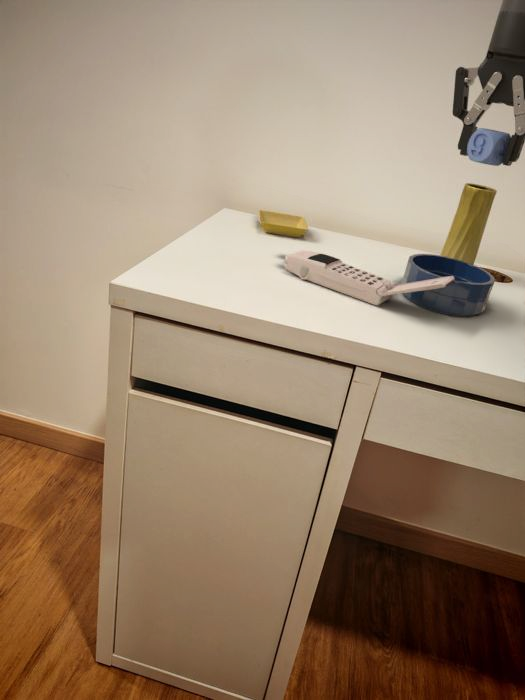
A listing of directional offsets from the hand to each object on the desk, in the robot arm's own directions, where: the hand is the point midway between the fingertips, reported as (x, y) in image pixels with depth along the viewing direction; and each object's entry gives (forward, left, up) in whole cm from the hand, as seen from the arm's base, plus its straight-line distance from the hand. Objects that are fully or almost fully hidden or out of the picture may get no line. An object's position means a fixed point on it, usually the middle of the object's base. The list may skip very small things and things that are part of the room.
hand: (485, 159), depth 77 cm
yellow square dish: (+33, -7, -20) cm, 39 cm away
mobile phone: (+10, +10, -20) cm, 24 cm away
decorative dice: (0, 0, -1) cm, 1 cm away
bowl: (0, 0, -20) cm, 20 cm away
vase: (+4, -19, -20) cm, 28 cm away
